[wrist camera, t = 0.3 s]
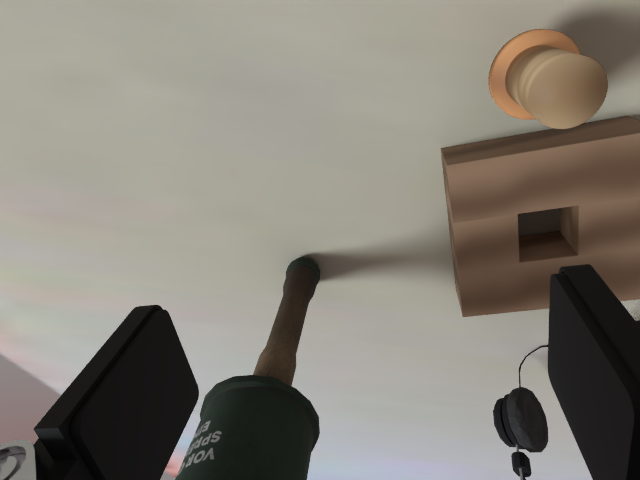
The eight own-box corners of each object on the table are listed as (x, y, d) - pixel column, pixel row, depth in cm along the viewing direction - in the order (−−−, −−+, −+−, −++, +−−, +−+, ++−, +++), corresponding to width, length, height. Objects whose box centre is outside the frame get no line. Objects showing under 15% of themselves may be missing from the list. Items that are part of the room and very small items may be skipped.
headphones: (519, 413, 58) (578, 595, 40) (469, 355, 54) (510, 525, 37) (642, 361, 52) (775, 547, 34) (595, 293, 49) (714, 460, 31)
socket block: (440, 148, 44) (447, 165, 39) (627, 115, 40) (657, 130, 36) (456, 289, 51) (463, 316, 46) (617, 270, 47) (641, 299, 43)
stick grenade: (286, 221, 49) (174, 478, 23) (357, 258, 50) (327, 545, 24) (255, 278, 53) (128, 555, 27) (321, 311, 54) (261, 609, 28)
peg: (475, 35, 39) (511, 50, 28) (556, 17, 38) (629, 25, 26) (480, 111, 42) (515, 152, 31) (556, 96, 40) (622, 134, 29)
